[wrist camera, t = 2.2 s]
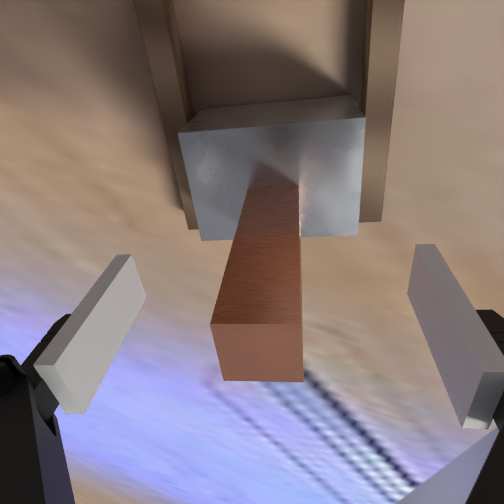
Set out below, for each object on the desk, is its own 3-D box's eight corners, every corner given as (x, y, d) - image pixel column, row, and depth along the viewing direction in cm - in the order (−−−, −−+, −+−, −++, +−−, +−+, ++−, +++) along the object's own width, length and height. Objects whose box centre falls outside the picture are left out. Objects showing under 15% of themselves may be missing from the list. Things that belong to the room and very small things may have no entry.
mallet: (201, 108, 24) (73, 239, 10) (350, 94, 23) (436, 224, 9) (218, 200, 28) (140, 386, 14) (346, 193, 27) (401, 392, 13)
